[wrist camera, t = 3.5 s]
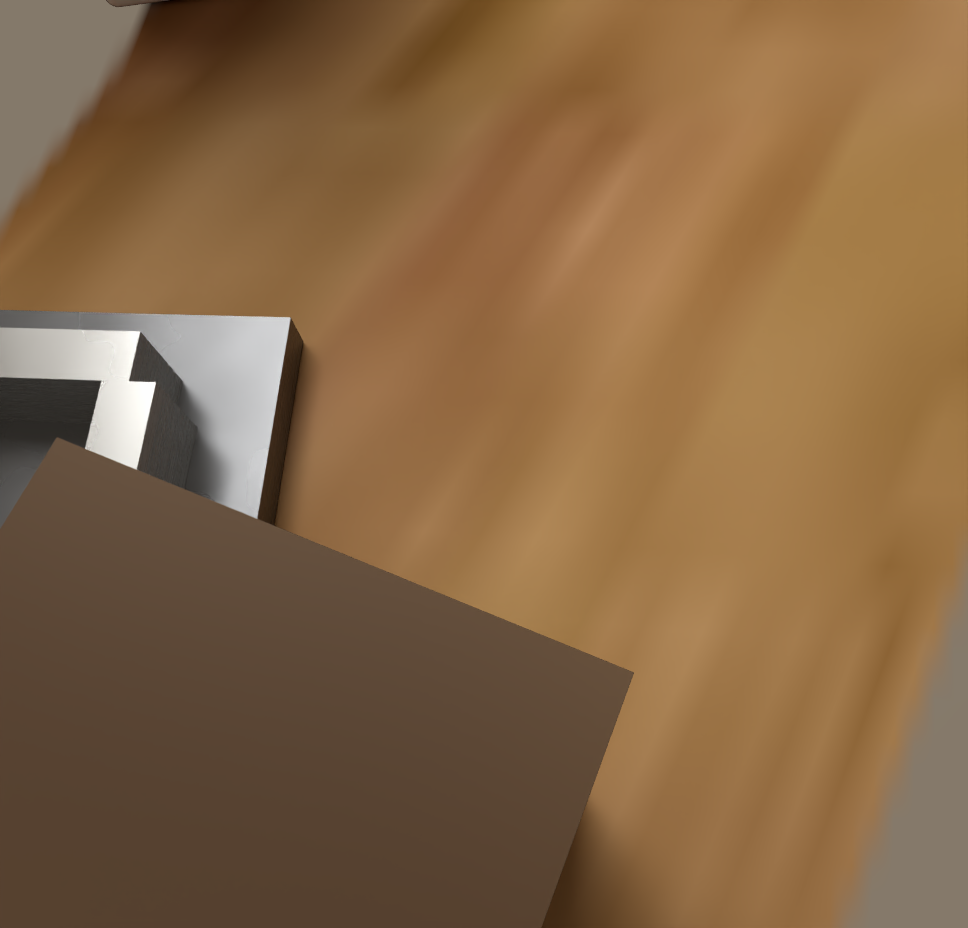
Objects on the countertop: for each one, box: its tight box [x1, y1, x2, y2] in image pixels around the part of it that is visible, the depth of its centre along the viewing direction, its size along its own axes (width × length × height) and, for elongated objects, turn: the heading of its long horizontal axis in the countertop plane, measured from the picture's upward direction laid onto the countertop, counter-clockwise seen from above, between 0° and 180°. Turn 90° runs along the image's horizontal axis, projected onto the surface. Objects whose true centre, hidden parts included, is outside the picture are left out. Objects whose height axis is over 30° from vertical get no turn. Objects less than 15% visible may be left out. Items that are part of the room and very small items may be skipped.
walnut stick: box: [0, 437, 634, 928], centre depth 10 cm, size 3×3×13 cm
